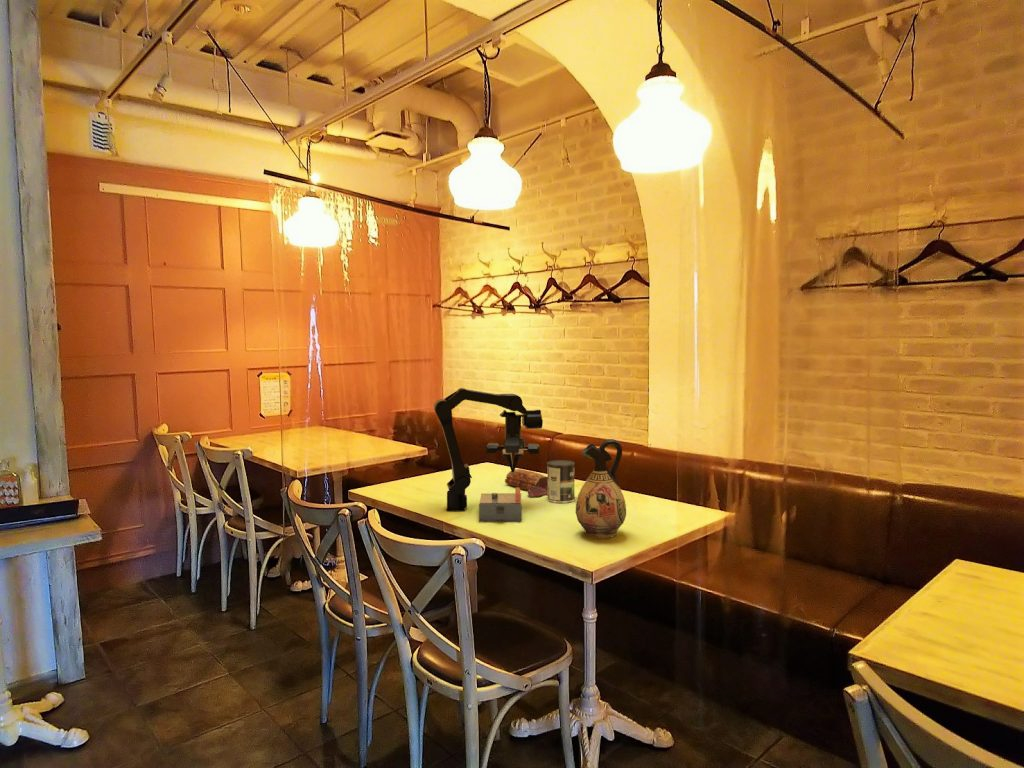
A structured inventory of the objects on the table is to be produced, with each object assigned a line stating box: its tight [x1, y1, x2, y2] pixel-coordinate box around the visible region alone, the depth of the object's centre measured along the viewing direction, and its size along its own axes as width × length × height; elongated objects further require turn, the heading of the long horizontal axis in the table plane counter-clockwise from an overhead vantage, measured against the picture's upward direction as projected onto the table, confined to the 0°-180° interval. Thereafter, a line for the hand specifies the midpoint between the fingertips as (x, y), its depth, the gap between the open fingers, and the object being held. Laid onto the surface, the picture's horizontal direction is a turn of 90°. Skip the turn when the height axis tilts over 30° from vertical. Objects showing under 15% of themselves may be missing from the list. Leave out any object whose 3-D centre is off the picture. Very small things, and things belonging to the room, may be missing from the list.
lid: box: [478, 487, 522, 505], centre depth 218 cm, size 14×12×3 cm
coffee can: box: [546, 459, 576, 504], centre depth 239 cm, size 10×10×14 cm
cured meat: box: [504, 468, 548, 498], centre depth 255 cm, size 18×25×7 cm
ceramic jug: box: [575, 438, 627, 540], centre depth 196 cm, size 17×15×30 cm
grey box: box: [478, 492, 523, 523], centre depth 218 cm, size 14×19×6 cm
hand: (512, 472), depth 230 cm, fingers closed
